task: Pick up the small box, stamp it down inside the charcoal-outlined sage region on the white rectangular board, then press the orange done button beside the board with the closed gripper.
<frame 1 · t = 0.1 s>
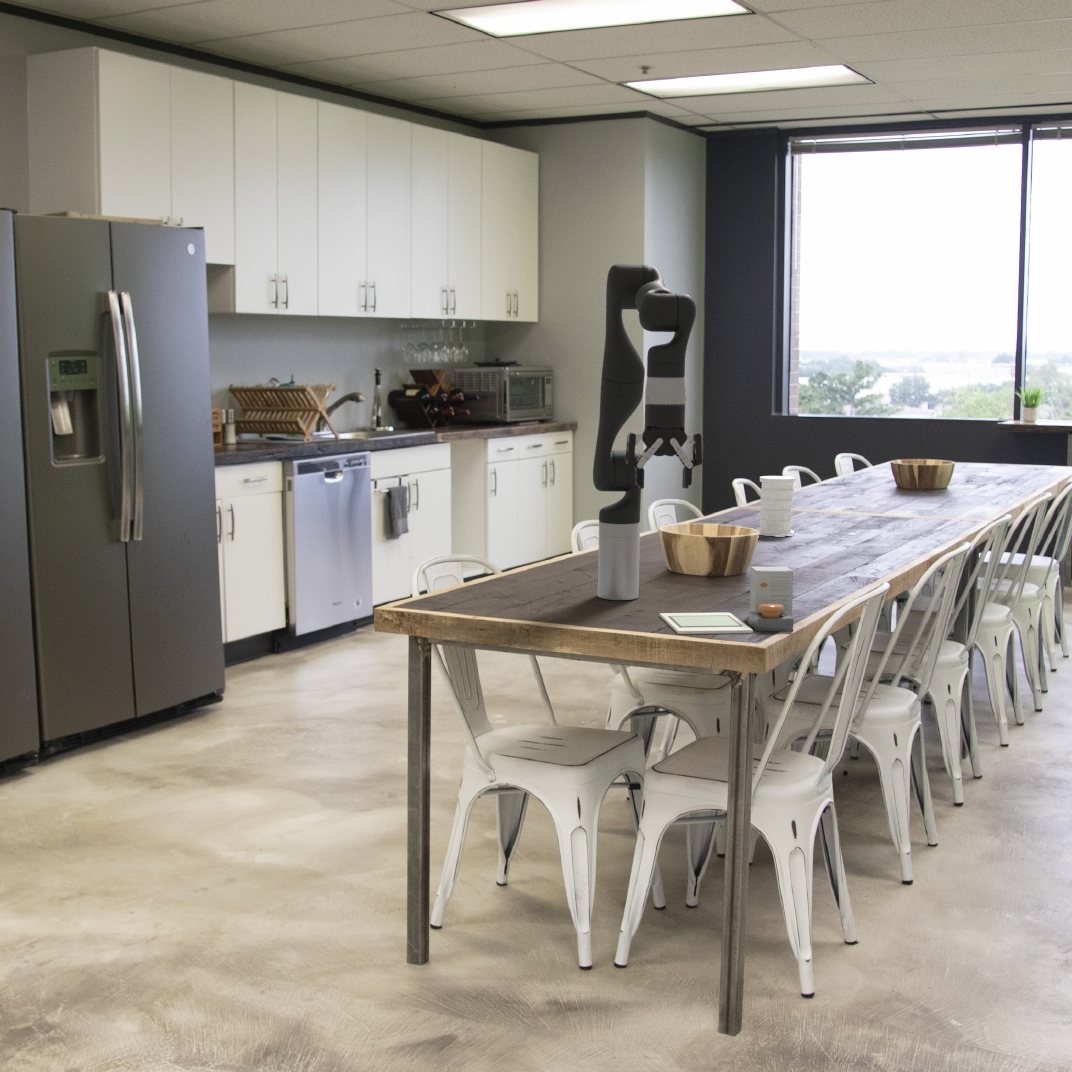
hand: (663, 488, 240), 29 cm above the table, fingers open, 8 cm apart
small box: (770, 618, 267), on the table
decorative container: (775, 535, 397), on the table
done button: (770, 612, 256), point 3 cm above the table, slide at 0.0 cm
done button base: (770, 627, 257), on the table
white rectangular board: (704, 624, 259), on the table
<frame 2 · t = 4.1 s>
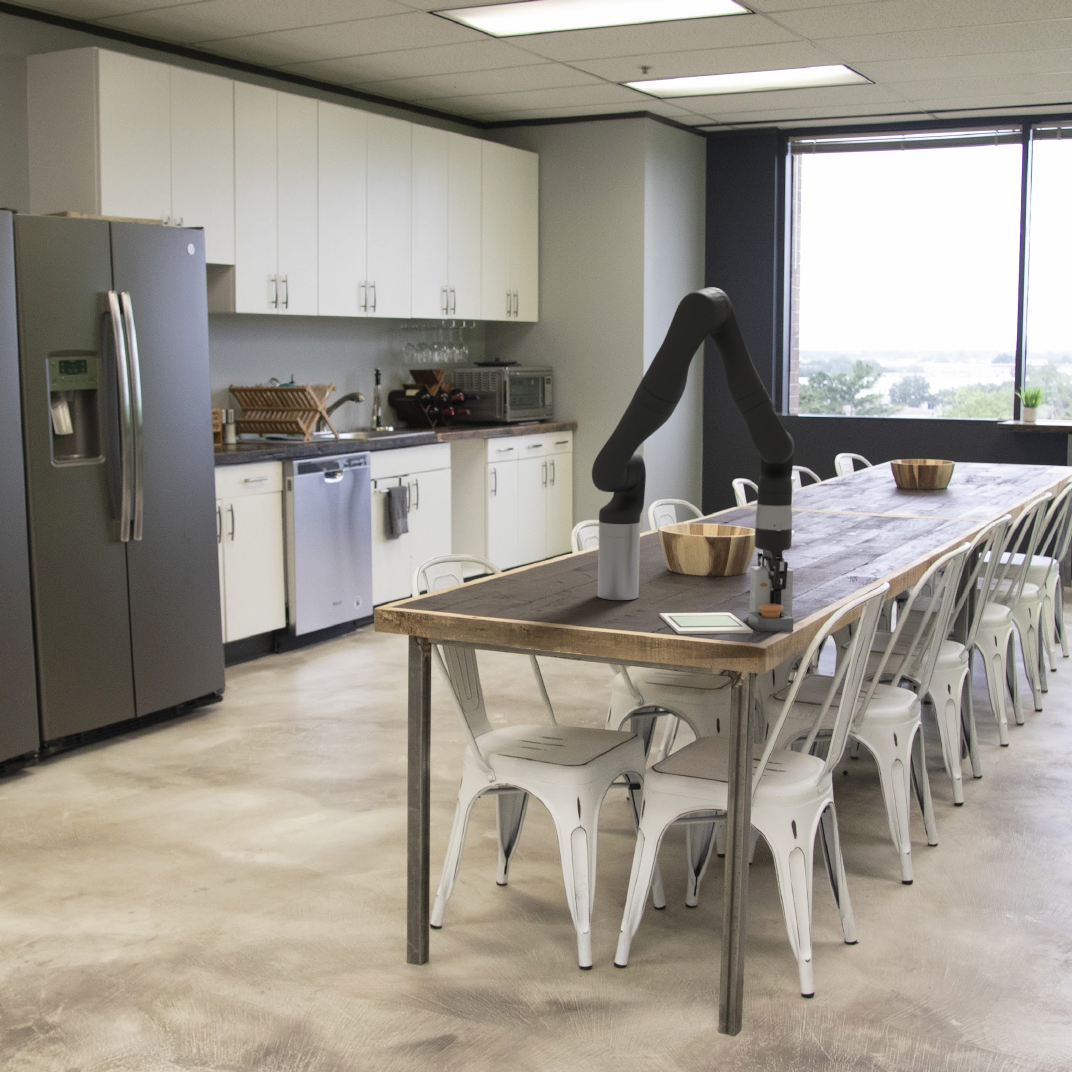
hand: (770, 605, 267), 3 cm above the table, fingers closed on small box, 5 cm apart
small box: (770, 618, 267), on the table, touching gripper
everything else where it was.
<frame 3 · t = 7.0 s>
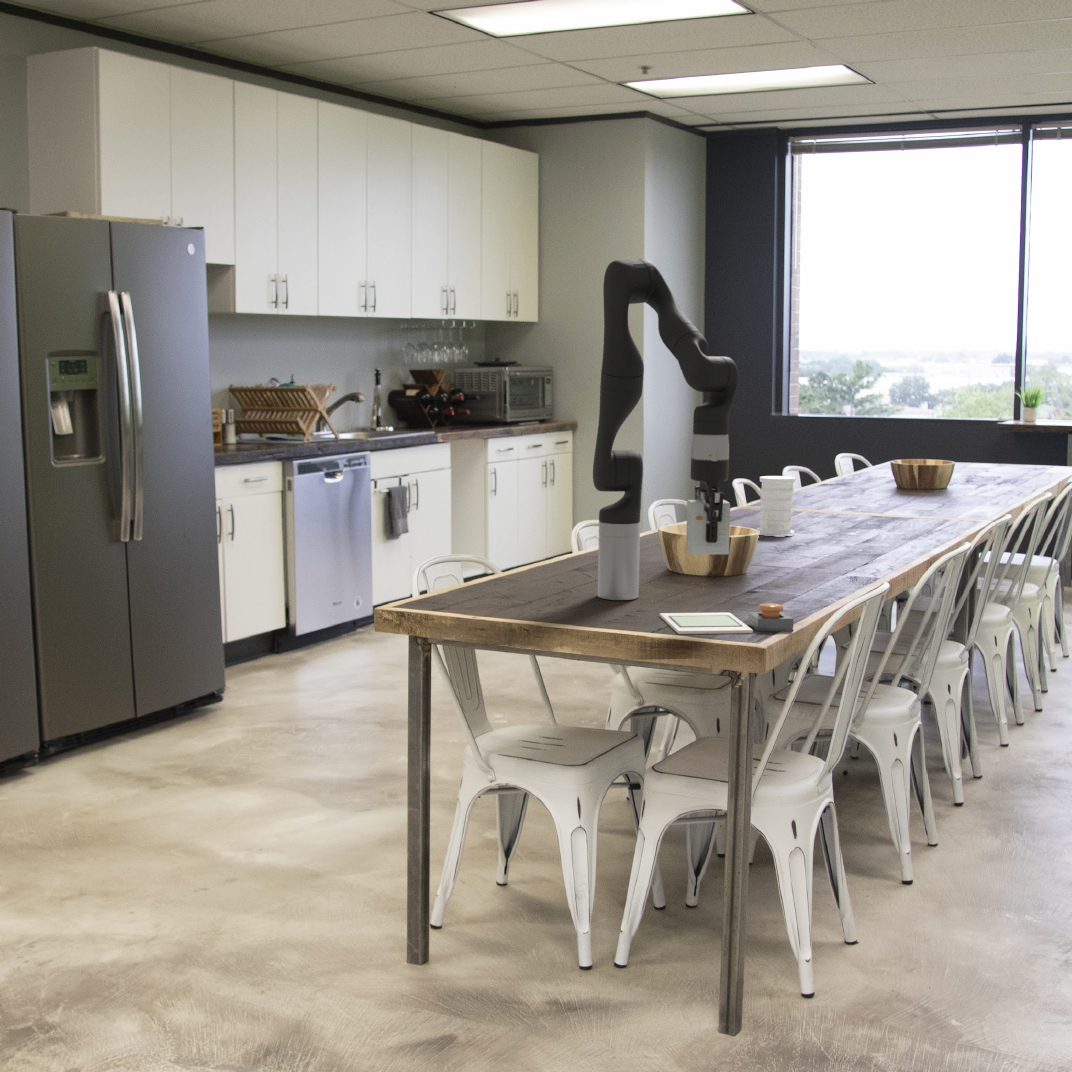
hand: (707, 539, 257), 17 cm above the table, fingers closed on small box, 5 cm apart
small box: (707, 553, 258), point 15 cm above the table, touching gripper
everything else where it was.
when the fingers open (5 cm above the table, at t = 9.8 s): small box drops 1 cm, resting on white rectangular board.
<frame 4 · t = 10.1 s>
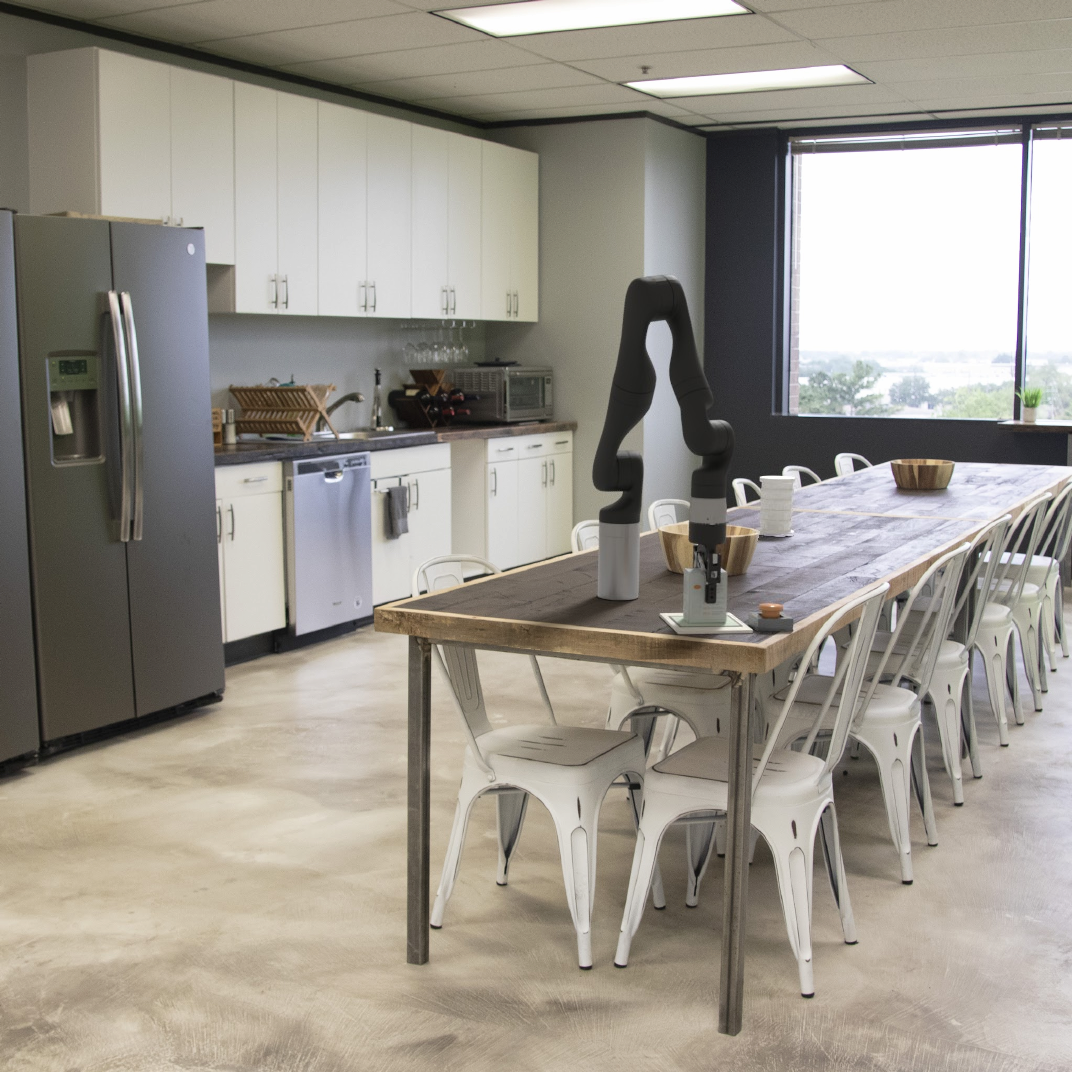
hand: (705, 599, 259), 5 cm above the table, fingers open, 7 cm apart
small box: (704, 621, 260), point 1 cm above the table, touching white rectangular board
everything else where it was.
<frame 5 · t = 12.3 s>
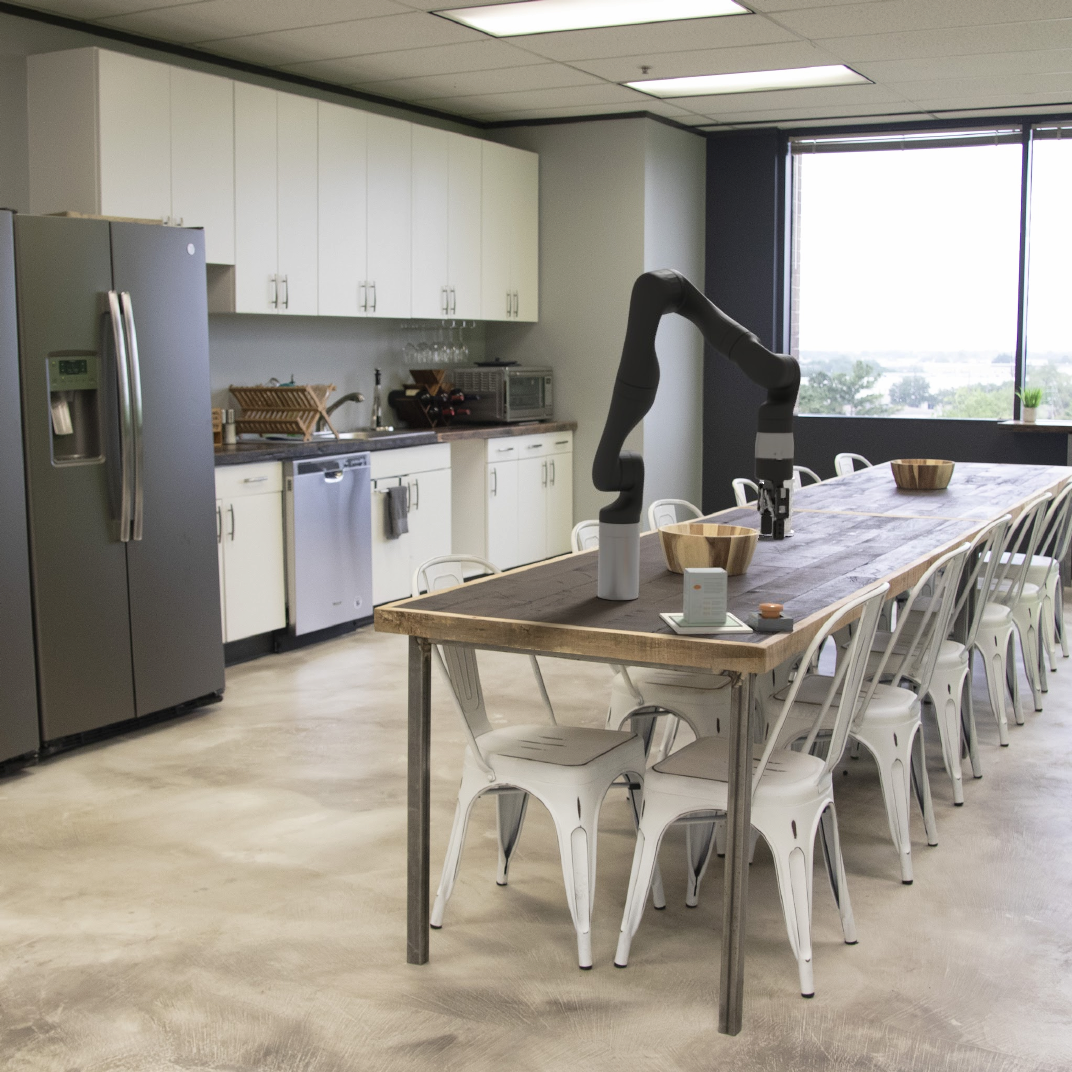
hand: (772, 536, 254), 18 cm above the table, fingers open, 8 cm apart
nothing on the table moved.
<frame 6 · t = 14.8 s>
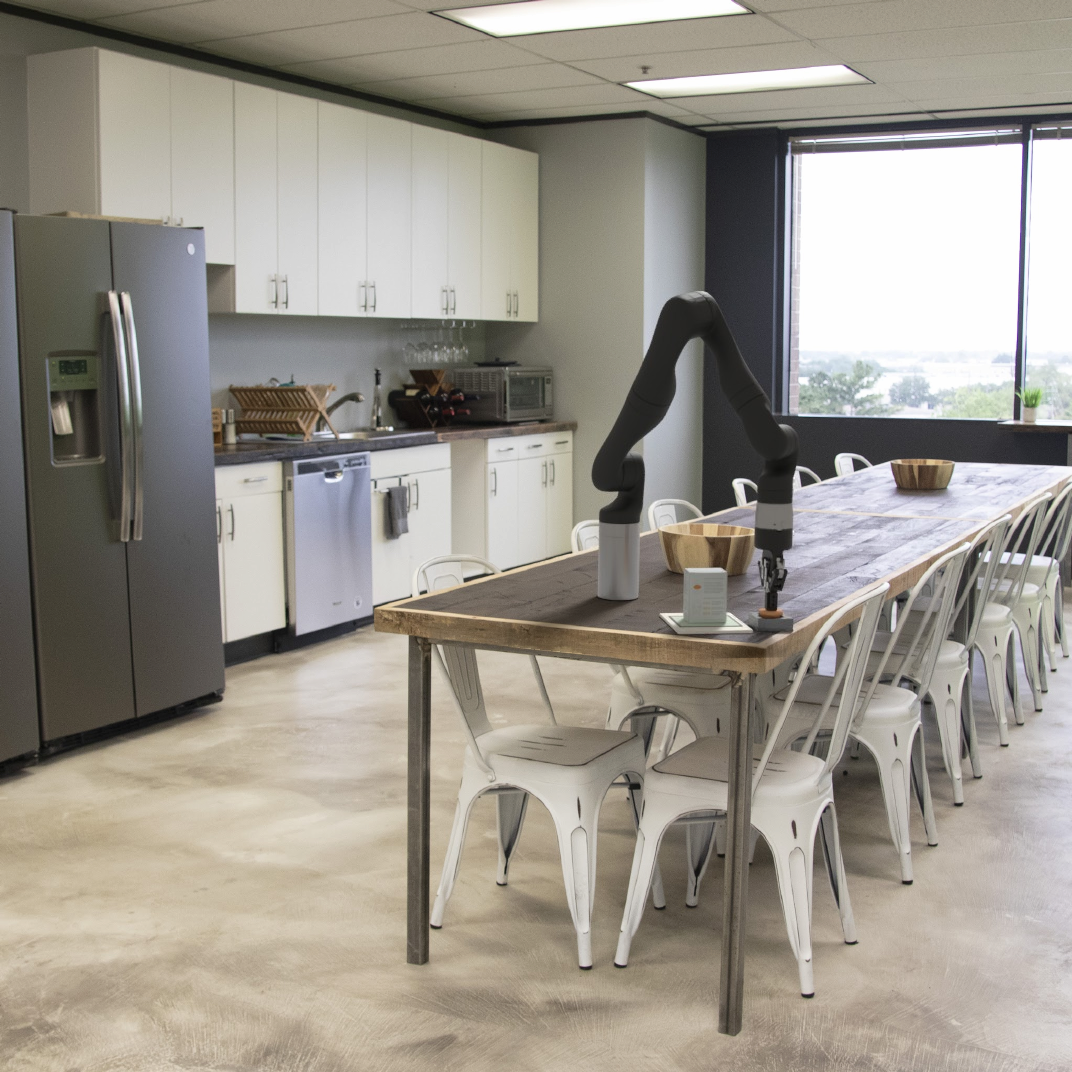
hand: (770, 610, 256), 4 cm above the table, fingers closed
done button: (770, 617, 257), point 2 cm above the table, slide at 1.0 cm, touching gripper
everything else where it was.
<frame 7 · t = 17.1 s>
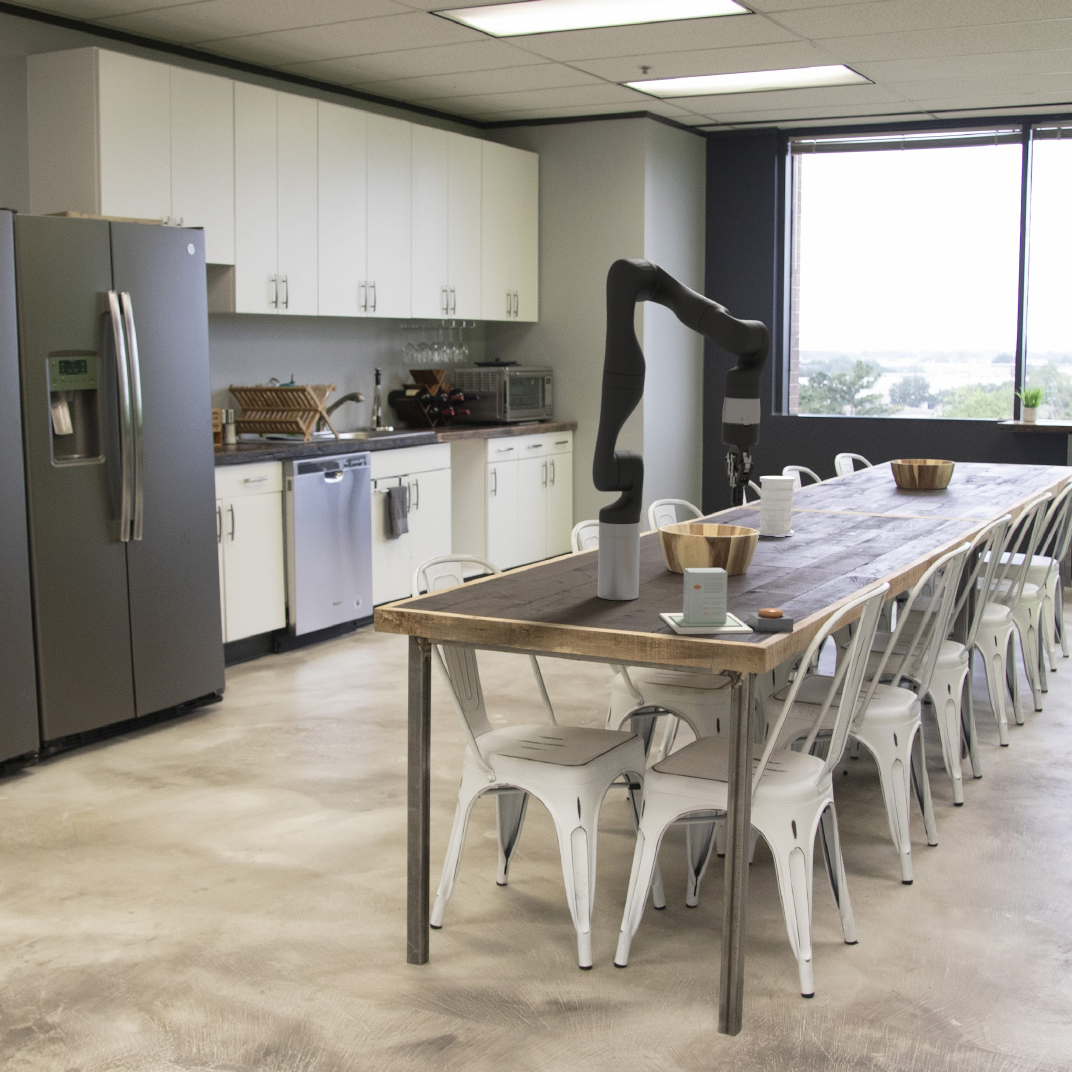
hand: (736, 505, 260), 24 cm above the table, fingers closed
done button: (770, 617, 257), point 2 cm above the table, slide at 1.0 cm
everything else where it was.
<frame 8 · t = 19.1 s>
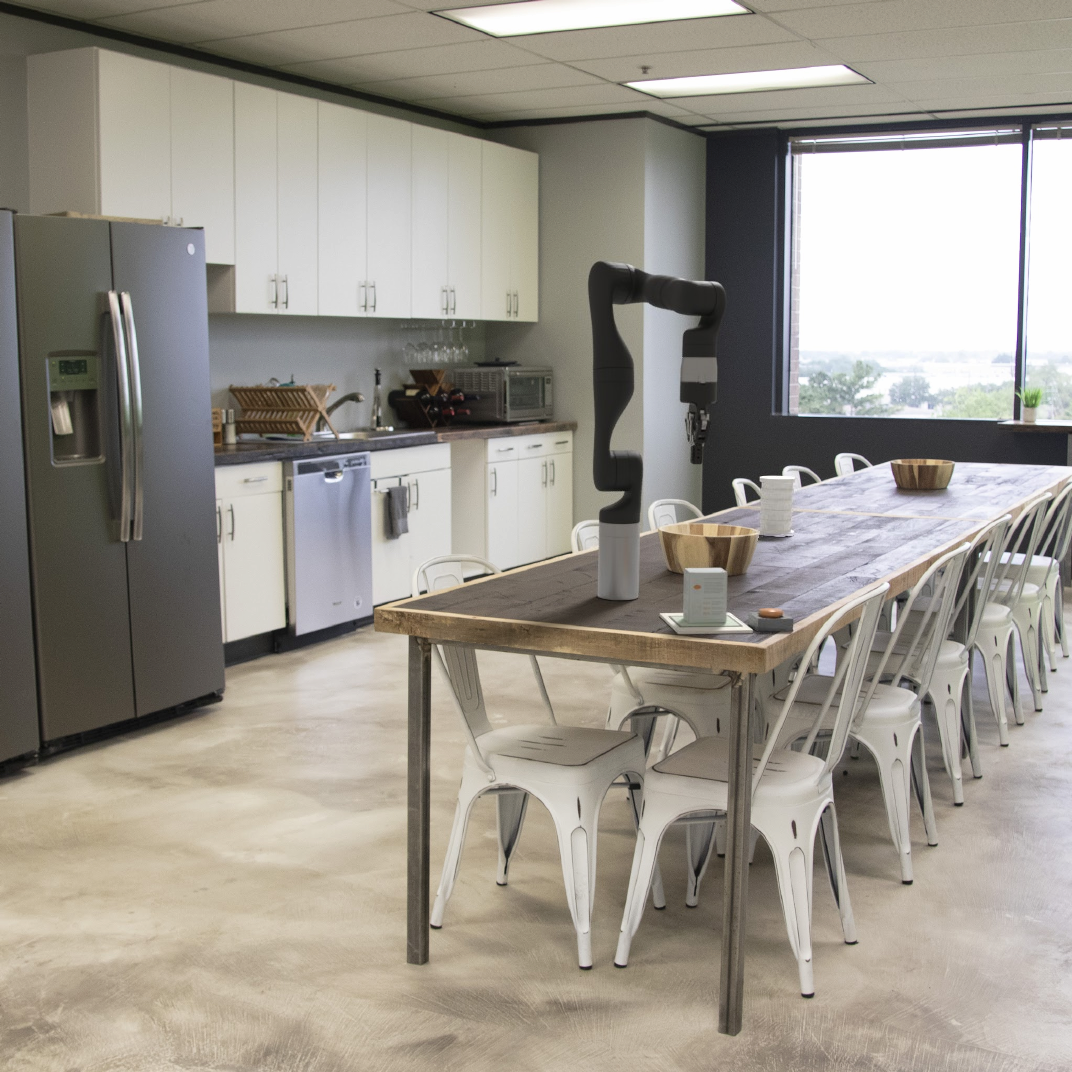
hand: (696, 463, 264), 32 cm above the table, fingers closed
nothing on the table moved.
at the end: small box 0.3 cm off-centre on the white rectangular board, point 0.5 cm above the white rectangular board's base; small box tilted 0°; done button slide at 1.0 cm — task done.
